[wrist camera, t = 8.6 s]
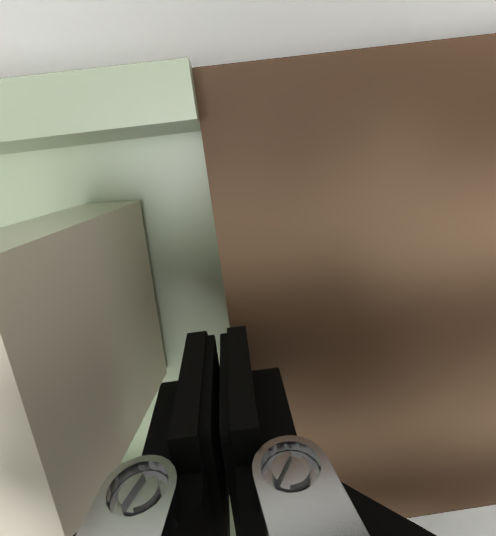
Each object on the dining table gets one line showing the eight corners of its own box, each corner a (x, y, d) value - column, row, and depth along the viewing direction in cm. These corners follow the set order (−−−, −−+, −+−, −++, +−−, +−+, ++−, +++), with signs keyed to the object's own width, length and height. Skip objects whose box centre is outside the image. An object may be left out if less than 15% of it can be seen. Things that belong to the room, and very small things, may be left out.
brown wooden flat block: (608, 402, 18) (713, 470, 14) (252, 455, 17) (261, 540, 13) (701, 35, 13) (905, -14, 9) (201, 93, 12) (191, 68, 8)
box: (252, 455, 17) (264, 570, 13) (-84, 504, 17) (-204, 643, 12) (201, 93, 12) (187, 57, 7) (-283, 150, 12) (-626, 148, 7)
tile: (72, 559, 8) (-11, 554, 8) (166, 372, 15) (120, 372, 15) (-22, 261, 6) (-132, 265, 6) (139, 200, 12) (85, 203, 13)
